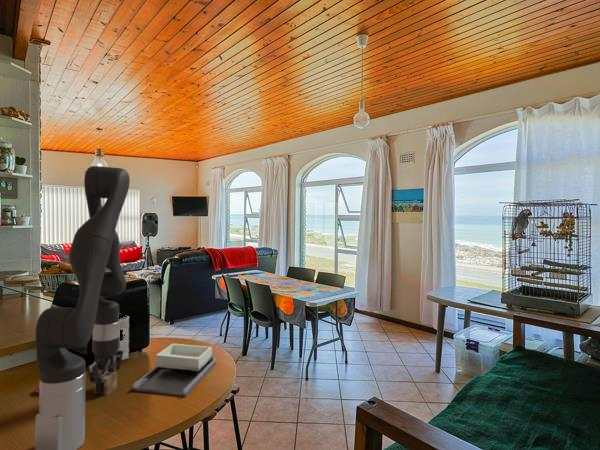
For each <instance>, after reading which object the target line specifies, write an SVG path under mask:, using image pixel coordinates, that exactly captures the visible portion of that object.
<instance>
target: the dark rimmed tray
mask: <svg viewBox="0 0 600 450" xmlns="http://www.w3.org/2000/svg"><path fill="white" fill-rule="evenodd" d="M216 360H217V359H216V358H215V353H212V358H211V359H210V360H209V361H208V362H207V363H206V364H205V365H204V366H203V367H202V368H201V369H200V370H199V371H197V372H196V373H193V372H192V371H191V370H185V369H175V368H167V369H166V370H163V369H162V367H156V366H154V368H152V369H151V370H149V371H148V372H147V373H146V374H144V375H143V376H142V377H140V379H139V378H138V379H137V381H135V382H134V383H133V384H132V388H131V389H132V391H134V392H141V393H150V394H159V395H169V396H177V397H188V395H189V394H190V393H191V392H192V391H193V390H194V388H195V387H197V386H198V384H200V383H201V381H202V380H203V379H204V378H205V377H206V376H207V375H208V374H209V372H210V371H212V369H214V367H216V365H217V361H216Z"/></svg>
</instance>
